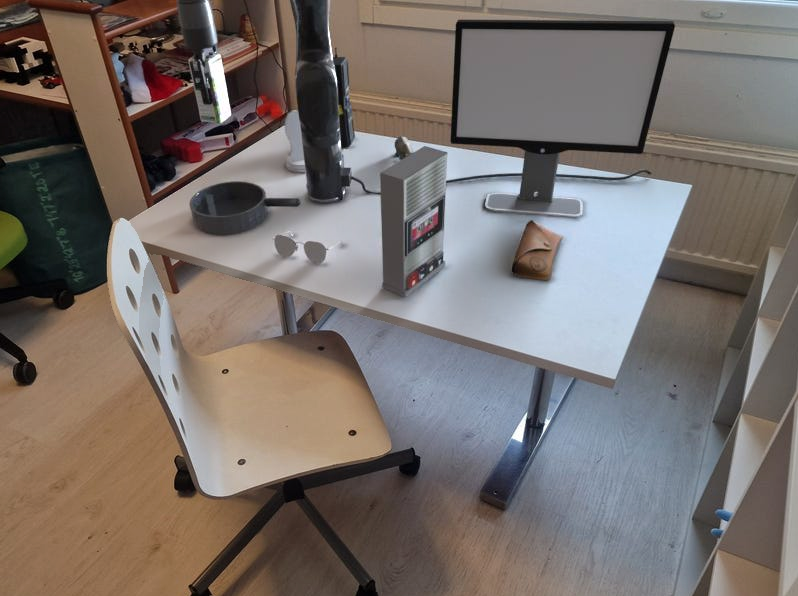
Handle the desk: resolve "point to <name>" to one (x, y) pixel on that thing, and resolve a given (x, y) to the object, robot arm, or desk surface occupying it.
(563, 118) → the computer monitor
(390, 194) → the cassette tape recorder
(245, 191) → the pan
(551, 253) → the sunglasses case
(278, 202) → the pan handle
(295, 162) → the chess piece
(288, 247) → the sunglasses
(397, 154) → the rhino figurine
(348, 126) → the portable radio
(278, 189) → the desk surface
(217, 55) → the syrup box
